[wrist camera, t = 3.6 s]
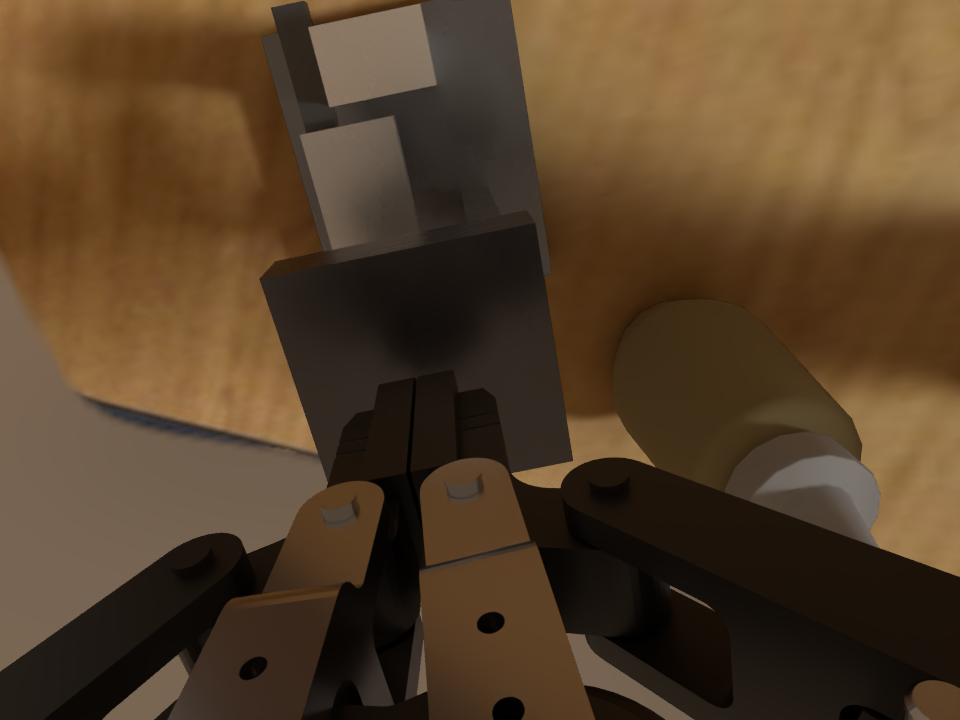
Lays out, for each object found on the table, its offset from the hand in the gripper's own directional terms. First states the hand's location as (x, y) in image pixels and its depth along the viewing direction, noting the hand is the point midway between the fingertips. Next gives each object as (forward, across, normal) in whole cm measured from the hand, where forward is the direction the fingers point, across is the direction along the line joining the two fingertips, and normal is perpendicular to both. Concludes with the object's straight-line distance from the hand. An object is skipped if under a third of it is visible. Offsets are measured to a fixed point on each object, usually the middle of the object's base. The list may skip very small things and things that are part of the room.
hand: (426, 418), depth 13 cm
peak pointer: (+11, +2, -6) cm, 13 cm away
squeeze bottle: (+20, -11, +9) cm, 24 cm away
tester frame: (+20, 0, -3) cm, 20 cm away
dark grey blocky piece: (+12, 0, -1) cm, 12 cm away
